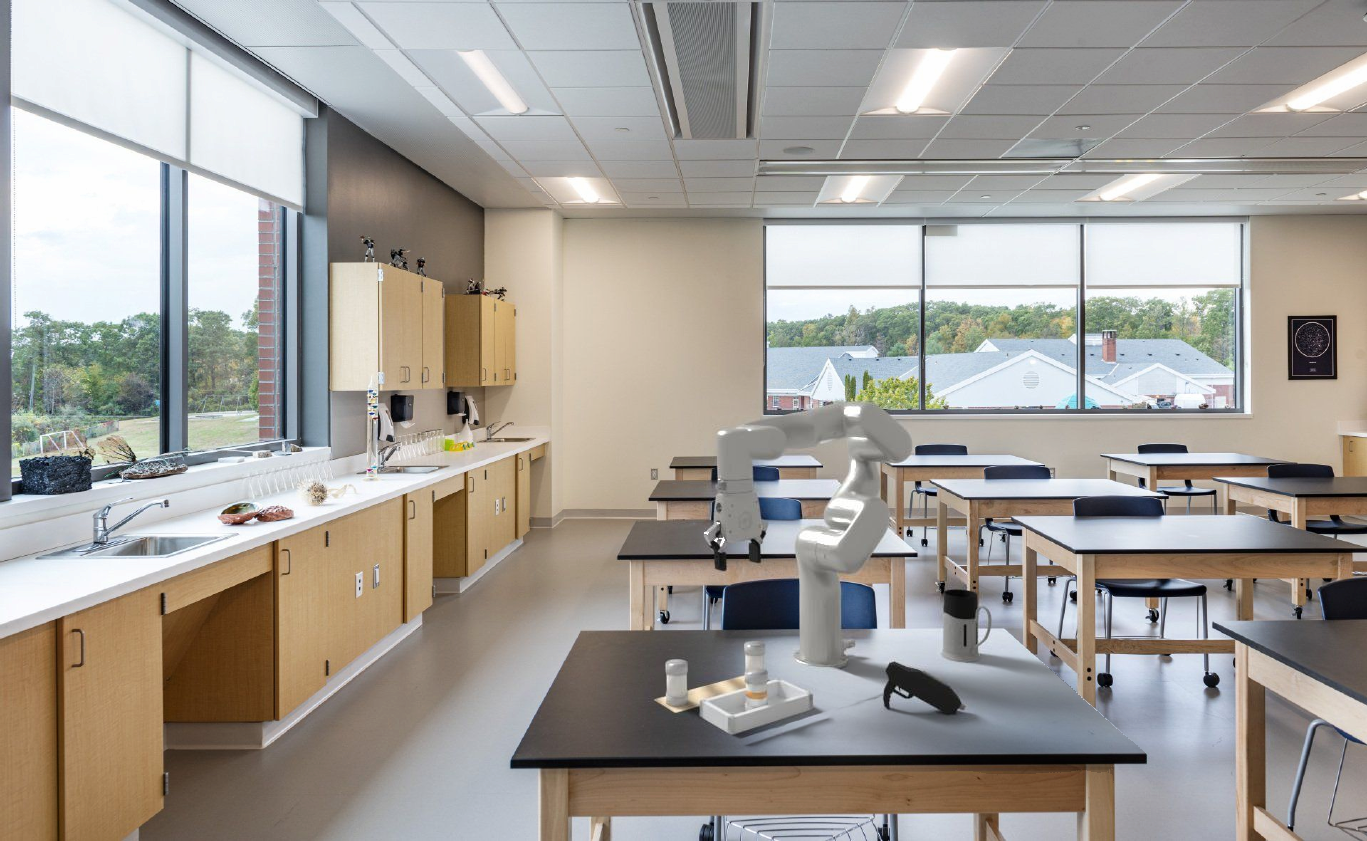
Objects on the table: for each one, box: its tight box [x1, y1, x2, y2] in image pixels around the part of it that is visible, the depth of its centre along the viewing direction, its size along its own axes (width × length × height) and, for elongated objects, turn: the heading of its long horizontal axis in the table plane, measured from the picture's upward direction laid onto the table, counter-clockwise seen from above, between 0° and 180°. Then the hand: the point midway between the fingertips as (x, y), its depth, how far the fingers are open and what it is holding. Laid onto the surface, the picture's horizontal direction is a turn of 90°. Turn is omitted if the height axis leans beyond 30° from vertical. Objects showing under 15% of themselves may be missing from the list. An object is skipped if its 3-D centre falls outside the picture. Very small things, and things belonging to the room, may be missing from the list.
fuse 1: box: [665, 658, 689, 707], centre depth 156 cm, size 4×4×8 cm
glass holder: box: [940, 588, 992, 663], centre depth 182 cm, size 9×14×15 cm, turn 21°
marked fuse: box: [744, 668, 769, 711], centre depth 151 cm, size 4×4×8 cm
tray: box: [699, 678, 814, 736], centre depth 151 cm, size 20×10×4 cm, turn 124°
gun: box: [882, 661, 967, 716], centre depth 154 cm, size 3×16×10 cm, turn 79°
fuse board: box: [653, 674, 772, 714], centre depth 162 cm, size 26×8×1 cm, turn 124°
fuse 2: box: [743, 640, 766, 683], centre depth 167 cm, size 4×4×8 cm
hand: (738, 566), depth 167 cm, fingers open, 9 cm apart
